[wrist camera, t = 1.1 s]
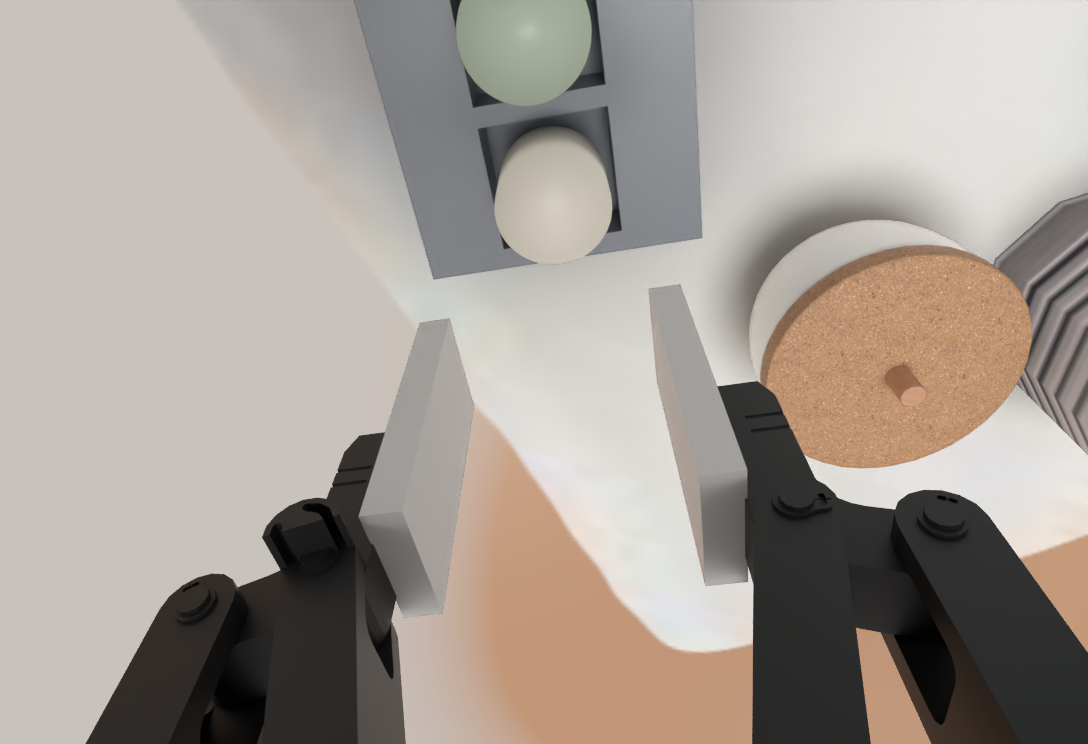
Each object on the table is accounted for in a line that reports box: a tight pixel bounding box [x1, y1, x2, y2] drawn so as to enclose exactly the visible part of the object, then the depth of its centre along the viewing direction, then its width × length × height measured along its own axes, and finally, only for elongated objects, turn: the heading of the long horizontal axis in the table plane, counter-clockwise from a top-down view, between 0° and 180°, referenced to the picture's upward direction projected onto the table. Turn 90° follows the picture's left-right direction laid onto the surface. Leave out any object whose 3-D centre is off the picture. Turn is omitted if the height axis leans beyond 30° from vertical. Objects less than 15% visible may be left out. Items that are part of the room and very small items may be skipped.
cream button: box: [494, 126, 612, 265], centre depth 27 cm, size 4×4×4 cm
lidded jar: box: [749, 220, 1032, 468], centre depth 31 cm, size 11×11×9 cm
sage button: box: [456, 0, 592, 106], centre depth 24 cm, size 4×4×4 cm
